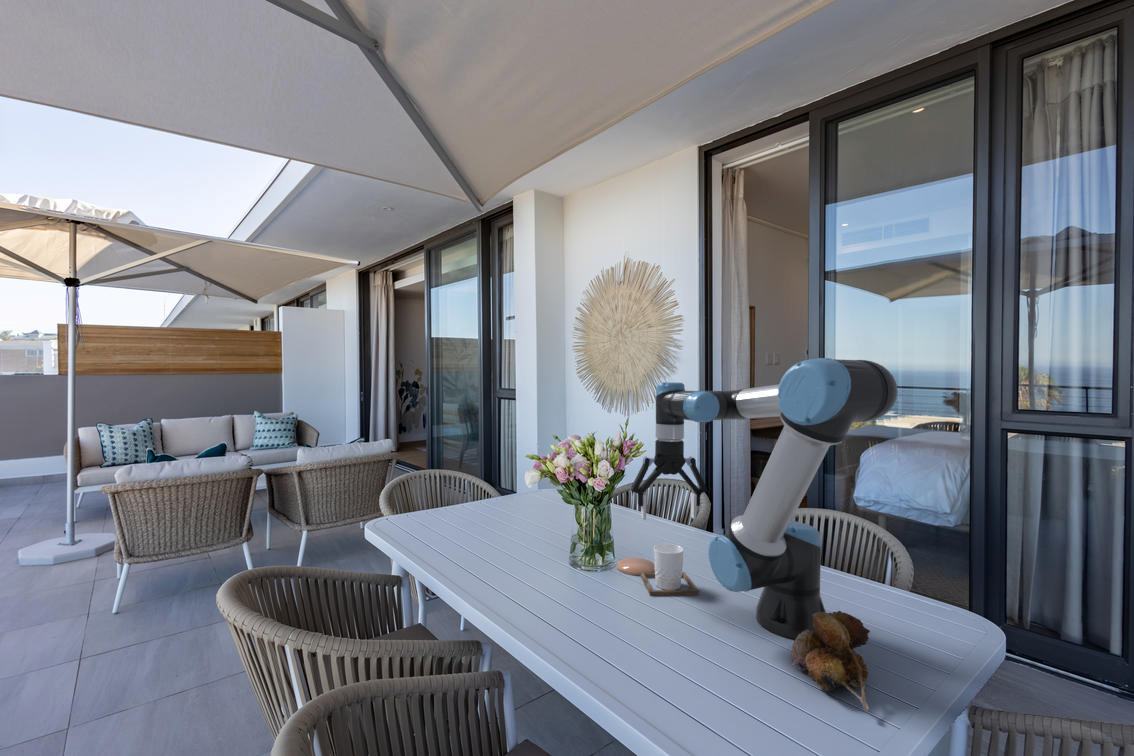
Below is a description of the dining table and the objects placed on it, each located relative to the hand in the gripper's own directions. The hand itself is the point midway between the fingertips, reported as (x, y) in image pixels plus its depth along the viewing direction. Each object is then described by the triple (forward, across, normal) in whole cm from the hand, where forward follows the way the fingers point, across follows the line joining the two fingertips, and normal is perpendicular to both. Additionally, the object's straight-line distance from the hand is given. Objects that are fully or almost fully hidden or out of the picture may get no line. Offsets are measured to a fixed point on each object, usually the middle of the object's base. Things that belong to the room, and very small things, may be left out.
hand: (668, 518), depth 138 cm
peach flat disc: (+18, +6, -12) cm, 23 cm away
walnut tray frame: (+18, 0, 0) cm, 18 cm away
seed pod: (+18, -20, +44) cm, 51 cm away
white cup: (+18, 0, 0) cm, 18 cm away
